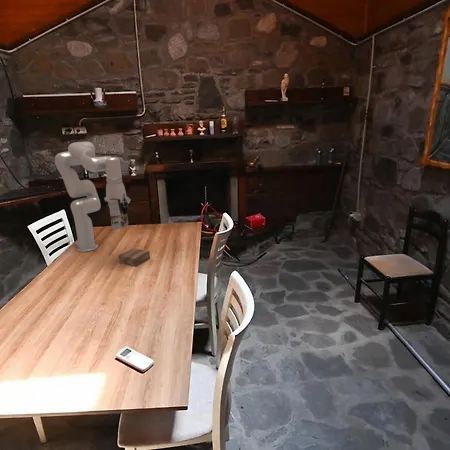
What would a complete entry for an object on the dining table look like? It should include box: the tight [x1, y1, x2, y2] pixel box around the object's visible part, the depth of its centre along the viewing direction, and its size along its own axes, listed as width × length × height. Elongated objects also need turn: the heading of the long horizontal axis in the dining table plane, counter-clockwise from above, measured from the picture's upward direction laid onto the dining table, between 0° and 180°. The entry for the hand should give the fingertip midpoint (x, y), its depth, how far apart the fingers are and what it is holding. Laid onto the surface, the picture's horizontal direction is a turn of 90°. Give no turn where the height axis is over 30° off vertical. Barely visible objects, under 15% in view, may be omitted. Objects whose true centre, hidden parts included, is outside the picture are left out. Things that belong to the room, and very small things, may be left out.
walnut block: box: [118, 247, 151, 267], centre depth 198 cm, size 12×12×5 cm
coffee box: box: [108, 199, 129, 230], centre depth 189 cm, size 9×6×16 cm
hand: (118, 213), depth 190 cm, fingers closed on coffee box, 8 cm apart
